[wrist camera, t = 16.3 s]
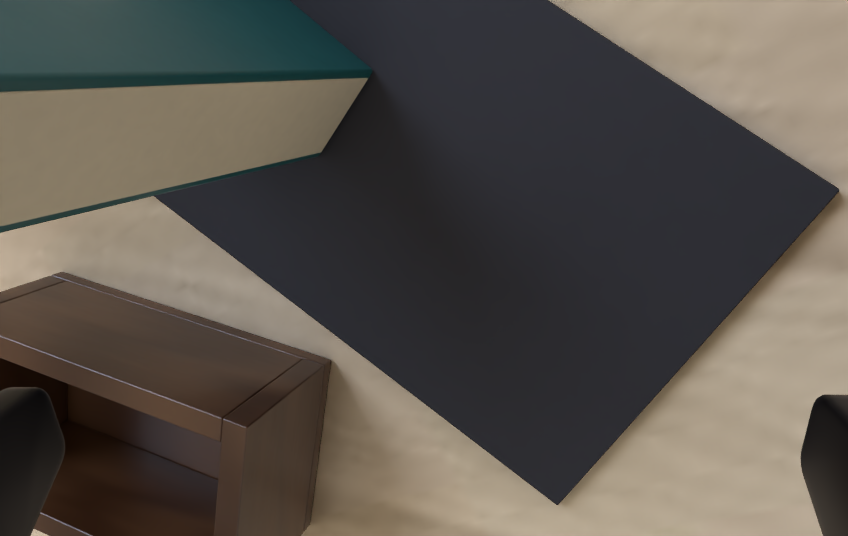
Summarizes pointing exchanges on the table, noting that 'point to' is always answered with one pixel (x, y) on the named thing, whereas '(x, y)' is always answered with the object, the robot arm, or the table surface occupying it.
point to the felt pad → (515, 222)
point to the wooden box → (164, 415)
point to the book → (158, 98)
